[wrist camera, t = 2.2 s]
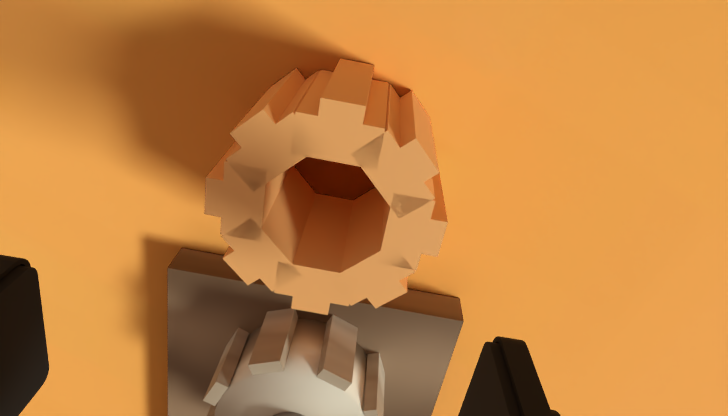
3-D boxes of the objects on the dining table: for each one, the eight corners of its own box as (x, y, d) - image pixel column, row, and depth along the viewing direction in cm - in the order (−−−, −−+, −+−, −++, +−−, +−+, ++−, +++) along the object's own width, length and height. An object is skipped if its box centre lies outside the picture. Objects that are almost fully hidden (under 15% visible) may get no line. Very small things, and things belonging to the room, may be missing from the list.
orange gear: (257, 42, 18) (209, 76, 13) (456, 81, 18) (475, 127, 13) (243, 217, 21) (201, 292, 17) (412, 249, 21) (416, 331, 17)
